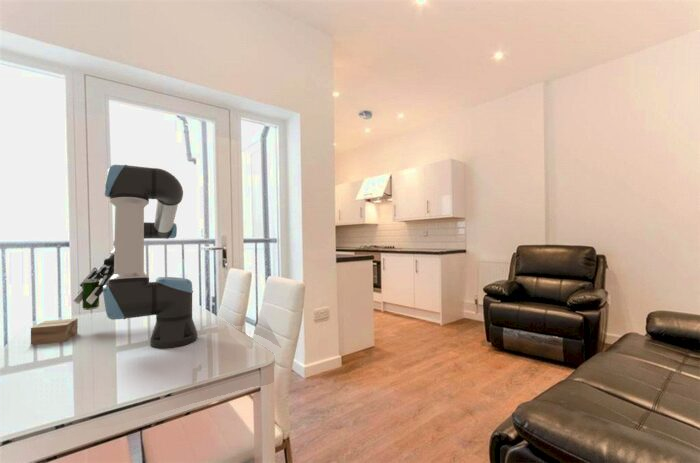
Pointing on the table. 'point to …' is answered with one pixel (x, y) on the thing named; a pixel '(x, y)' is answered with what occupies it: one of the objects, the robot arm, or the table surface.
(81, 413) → the table surface
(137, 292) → the robot arm
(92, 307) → the guarana soda can
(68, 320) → the walnut block
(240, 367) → the table surface
